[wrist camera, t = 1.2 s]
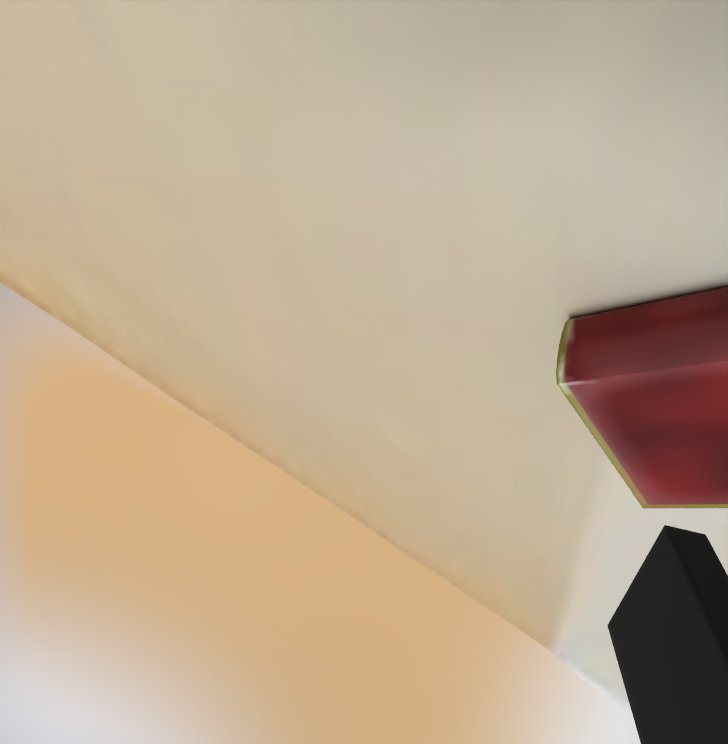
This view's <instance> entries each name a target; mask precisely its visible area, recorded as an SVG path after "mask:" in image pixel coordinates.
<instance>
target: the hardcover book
mask: <svg viewBox="0 0 728 744" xmlns="http://www.w3.org/2000/svg"><path fill="white" fill-rule="evenodd" d="M556 377H557V385H558V386H559V387H560V389H561V390H562V392H563V393H564V395H565V396H566V398H567V399H568V400H569V402H570V403H571V405H572V406H573V408H574V409H575V411H576V412H577V413H578V415H579V416H580V418H581V419H582V421H583V422H584V424H585V425H586V426H587V428H588V429H589V431H590V432H591V434H592V435H593V436H594V438H595V439H596V441H597V442H598V444H599V445H600V447H601V448H602V449H603V451H604V452H605V454H606V455H607V457H608V458H609V460H610V461H611V462H612V464H613V465H614V467H615V468H616V470H617V471H618V473H619V474H620V475H621V477H622V478H623V480H624V481H625V483H626V484H627V486H628V487H629V488H630V490H631V491H632V493H633V494H634V496H635V497H636V499H637V500H638V501H639V503H640V504H641V506H642V507H643V508H728V287H725V288H720V289H715V290H710V291H705V292H700V293H695V294H690V295H685V296H681V297H676V298H671V299H666V300H661V301H656V302H651V303H646V304H641V305H637V306H632V307H627V308H622V309H617V310H612V311H607V312H602V313H597V314H592V315H588V316H583V317H578V318H573V319H568V320H567V321H566V323H565V326H564V329H563V332H562V335H561V340H560V344H559V351H558V358H557V370H556Z"/></svg>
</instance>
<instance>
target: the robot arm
mask: <svg viewBox="0 0 728 744" xmlns="http://www.w3.org/2000/svg"><path fill="white" fill-rule="evenodd" d="M608 629H609V632H610V636H611V639H612V643H613V646H614V650H615V654H616V657H617V661H618V664H619V668H620V671H621V675H622V678H623V682H624V685H625V689H626V692H627V696H628V699H629V703H630V706H631V710H632V713H633V717H634V720H635V724H636V728H637V731H638V734H639V738H640V742H641V744H728V575H727V574H726V572H725V570H724V568H723V566H722V564H721V562H720V561H719V559H718V557H717V555H716V553H715V551H714V549H713V548H712V546H711V544H710V542H709V540H708V538H707V536H706V535H705V534H700V533H696V532H692V531H688V530H683V529H679V528H675V527H670V526H666V525H665V526H664V527H663V529H662V531H661V533H660V534H659V536H658V538H657V540H656V541H655V543H654V545H653V547H652V548H651V550H650V552H649V554H648V555H647V557H646V559H645V561H644V562H643V564H642V566H641V568H640V569H639V571H638V573H637V575H636V576H635V578H634V580H633V582H632V583H631V585H630V587H629V589H628V591H627V592H626V594H625V596H624V598H623V599H622V601H621V603H620V605H619V606H618V608H617V610H616V612H615V613H614V615H613V617H612V619H611V620H610V622H609V624H608Z"/></svg>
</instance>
